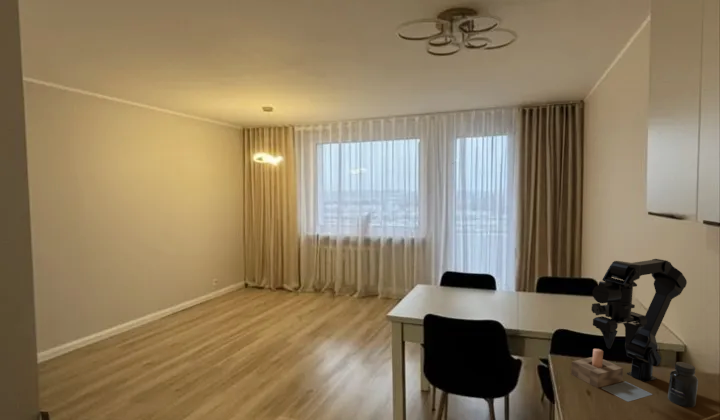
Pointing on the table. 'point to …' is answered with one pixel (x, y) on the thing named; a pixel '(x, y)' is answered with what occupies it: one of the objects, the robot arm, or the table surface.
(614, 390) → the mat
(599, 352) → the dowel
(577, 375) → the socket block
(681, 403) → the supplement bottle
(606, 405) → the table surface
